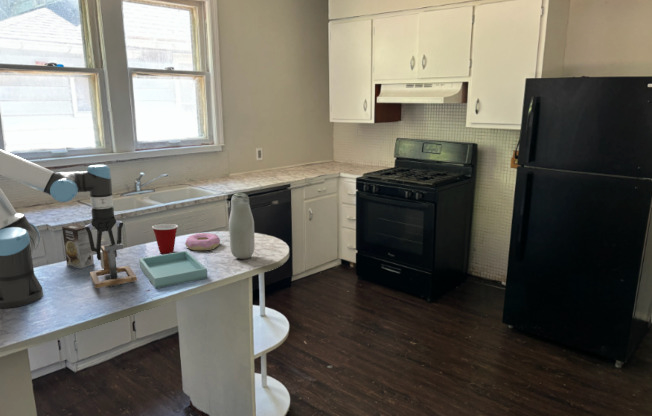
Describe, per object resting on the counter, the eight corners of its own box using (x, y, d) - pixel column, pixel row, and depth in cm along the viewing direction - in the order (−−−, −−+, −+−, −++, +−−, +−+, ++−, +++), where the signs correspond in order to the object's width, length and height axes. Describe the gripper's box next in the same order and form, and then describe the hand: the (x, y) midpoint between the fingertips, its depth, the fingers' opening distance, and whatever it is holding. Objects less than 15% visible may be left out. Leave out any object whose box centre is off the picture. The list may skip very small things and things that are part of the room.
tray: (155, 288, 171) (154, 278, 170) (139, 267, 191) (139, 258, 190) (207, 278, 181) (206, 268, 180) (187, 259, 201) (186, 250, 200)
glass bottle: (258, 255, 207) (256, 191, 201) (248, 262, 197) (246, 196, 191) (236, 253, 209) (234, 190, 203) (226, 260, 200) (223, 195, 193)
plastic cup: (183, 248, 215) (182, 222, 212) (173, 256, 205) (172, 229, 202) (160, 247, 216) (158, 221, 214) (149, 255, 206) (147, 228, 203)
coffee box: (65, 265, 194) (61, 226, 190) (80, 260, 199) (76, 222, 195) (80, 268, 189) (76, 229, 186) (95, 264, 195) (90, 225, 191)
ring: (95, 288, 165) (93, 263, 163) (87, 270, 181) (85, 248, 179) (136, 280, 172) (135, 256, 170) (126, 264, 188) (124, 242, 186)
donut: (197, 254, 208) (196, 243, 207) (179, 246, 218) (178, 236, 217) (227, 247, 218) (226, 236, 217) (208, 239, 229) (208, 229, 228)
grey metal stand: (105, 289, 170) (101, 249, 167) (102, 282, 176) (98, 244, 172) (128, 284, 174) (124, 246, 171) (124, 278, 180) (120, 241, 176)
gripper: (79, 211, 170) (85, 273, 175) (127, 206, 179) (132, 265, 184) (77, 207, 176) (83, 267, 182) (123, 202, 185) (128, 260, 190)
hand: (107, 266), depth 183 cm, fingers closed on ring, 3 cm apart
